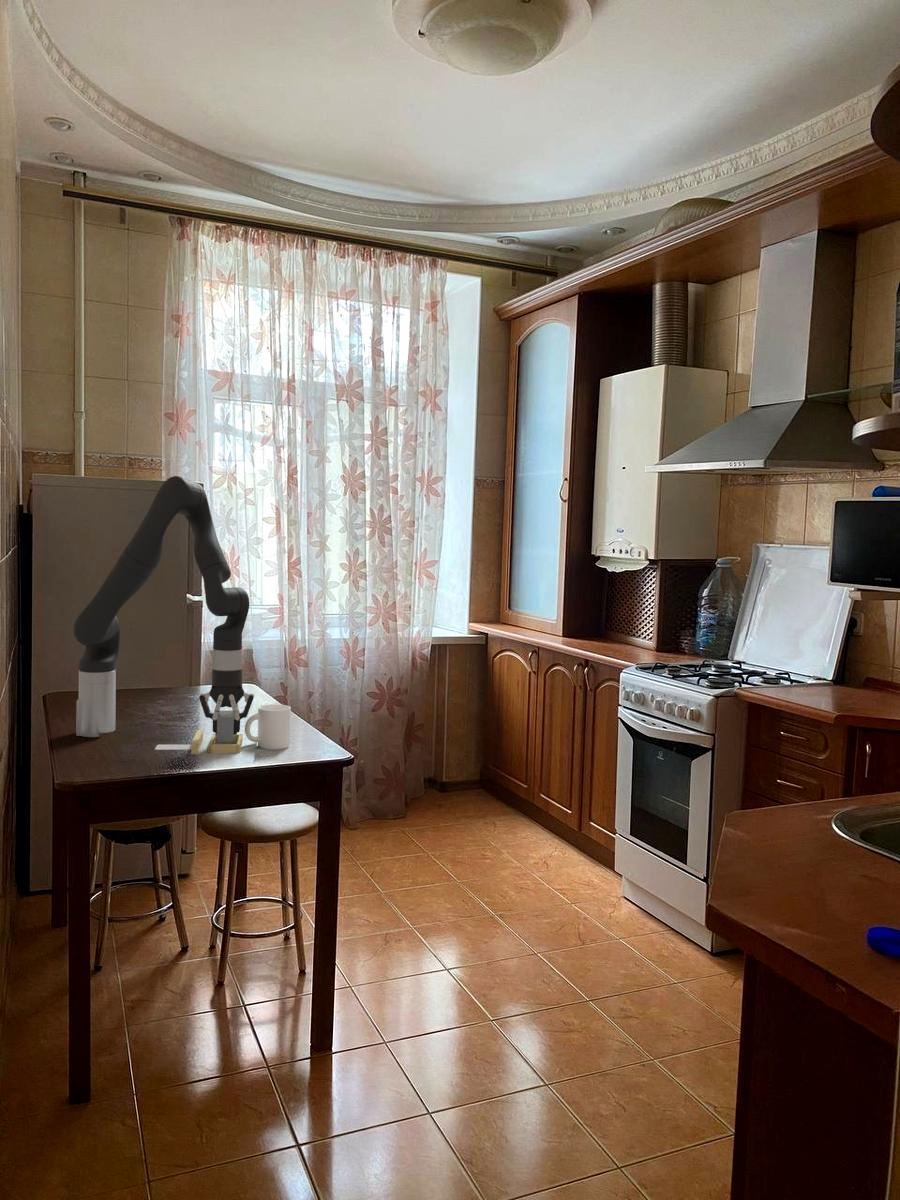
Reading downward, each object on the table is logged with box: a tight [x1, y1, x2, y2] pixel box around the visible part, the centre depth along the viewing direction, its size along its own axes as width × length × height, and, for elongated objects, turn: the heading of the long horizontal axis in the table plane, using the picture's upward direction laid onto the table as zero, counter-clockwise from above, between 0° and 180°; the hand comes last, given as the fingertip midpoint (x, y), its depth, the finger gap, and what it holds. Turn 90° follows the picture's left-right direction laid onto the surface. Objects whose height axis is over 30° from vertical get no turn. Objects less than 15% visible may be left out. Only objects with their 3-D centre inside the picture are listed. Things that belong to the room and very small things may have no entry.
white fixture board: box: [154, 729, 244, 755], centre depth 235 cm, size 22×14×4 cm, turn 99°
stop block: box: [217, 710, 235, 741], centre depth 235 cm, size 8×4×6 cm, turn 9°
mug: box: [244, 703, 292, 751], centre depth 241 cm, size 12×8×10 cm
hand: (226, 733), depth 236 cm, fingers closed on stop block, 4 cm apart
